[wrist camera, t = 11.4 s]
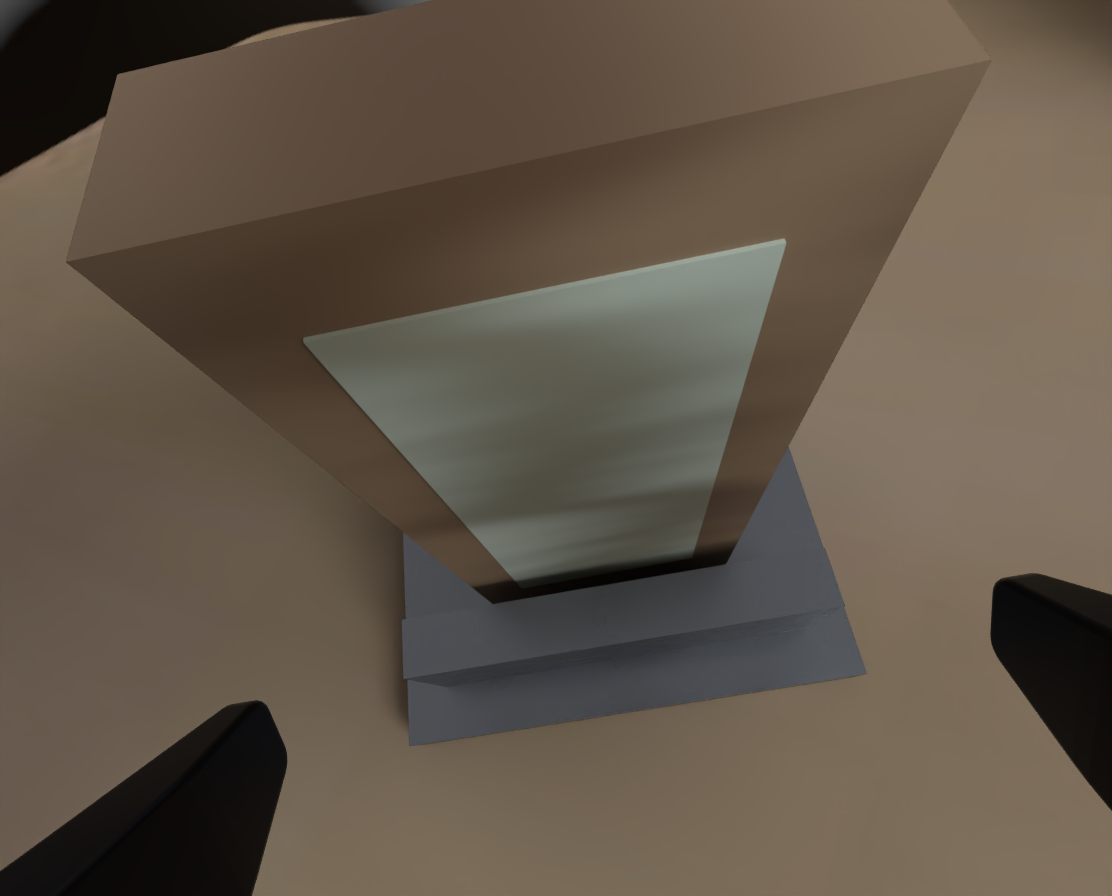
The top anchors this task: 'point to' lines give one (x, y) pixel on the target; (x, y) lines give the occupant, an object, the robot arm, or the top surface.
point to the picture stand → (628, 634)
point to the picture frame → (531, 252)
